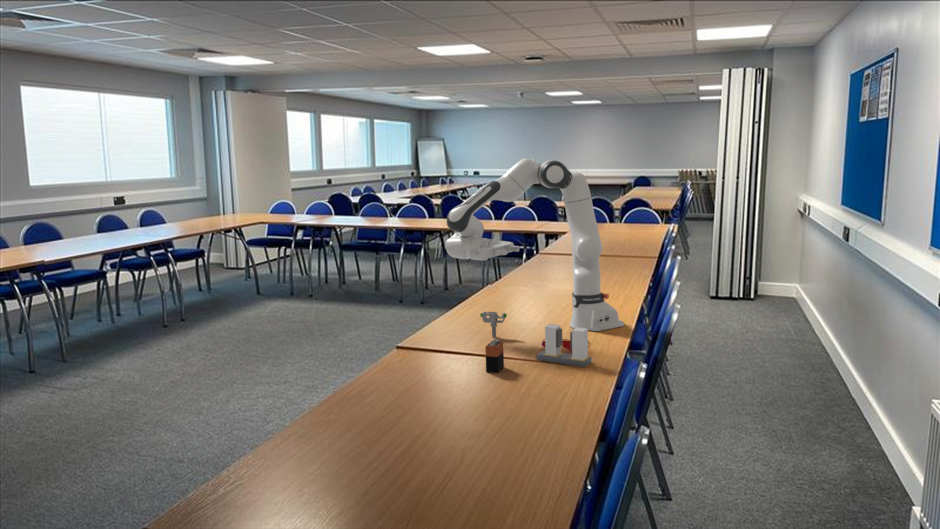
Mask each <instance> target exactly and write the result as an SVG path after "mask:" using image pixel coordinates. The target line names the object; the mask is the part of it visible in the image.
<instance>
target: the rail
mask: <svg viewBox="0 0 940 529" xmlns="http://www.w3.org/2000/svg"><path fill="white" fill-rule="evenodd" d="M539 360H543V361H542V362H545V361H547V363H552V362H553V363H552V364H558V363H560V365H565V364H566V366H571V365H573V366H572V367H578V366H580V368H584V367H585V368H586V367H587V366H589V365H590V364H592V363H591V362H592V360H593V358H592V356H589V355H588V357H587V358H585V359H584V360H579V359H573V358H572V353H567V352H562V351H561V353H560V354H558V355H557V356H553V355H546V354H545V350H542V351H540V352H538V353H537V354H536V361H539ZM588 364H589V365H588Z"/></svg>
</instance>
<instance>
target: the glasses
mask: <svg viewBox="0 0 940 529" xmlns="http://www.w3.org/2000/svg"><path fill="white" fill-rule="evenodd" d="M541 346H542V347H543V348H544V349H545V338H543V340H542V341H541ZM561 347H562V348H564V349H566V350H569V351H571V352H572V349H570V340H569V339H565V338H562V346H561Z"/></svg>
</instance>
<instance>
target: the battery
mask: <svg viewBox="0 0 940 529" xmlns="http://www.w3.org/2000/svg"><path fill="white" fill-rule="evenodd" d="M484 349H485V371H486V372H487V373H492V372H493V374H494V373H495V374H498V373H499V372H500V371H501V370H502V369H503V368H504V367H505V360H504V359H505V357H504V342H503V341H500V340H499V339H498V338H493V339H492V340H491V341H490V342H489V343H488V344H487V345H485V348H484Z"/></svg>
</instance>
